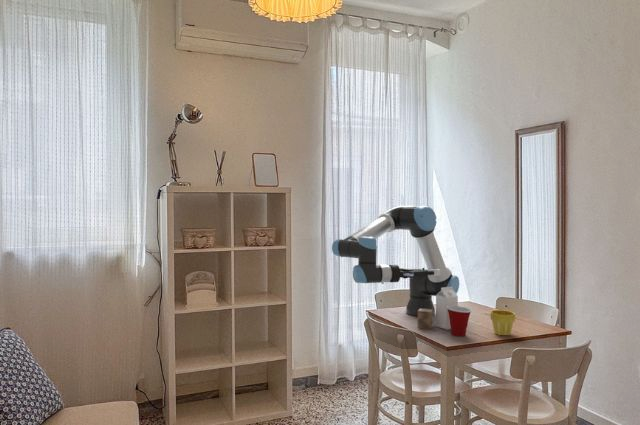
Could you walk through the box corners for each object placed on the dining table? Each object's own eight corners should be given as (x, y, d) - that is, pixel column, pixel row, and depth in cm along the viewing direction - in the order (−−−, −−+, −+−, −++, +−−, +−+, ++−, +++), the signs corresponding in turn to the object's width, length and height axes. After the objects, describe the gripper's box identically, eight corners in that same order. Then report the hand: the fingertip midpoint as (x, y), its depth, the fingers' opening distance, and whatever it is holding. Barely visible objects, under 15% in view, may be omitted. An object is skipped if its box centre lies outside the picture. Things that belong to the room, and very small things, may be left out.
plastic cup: (473, 338, 202) (473, 310, 201) (447, 337, 203) (447, 309, 203) (470, 332, 212) (470, 305, 212) (445, 330, 214) (445, 304, 214)
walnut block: (417, 327, 220) (417, 310, 220) (419, 324, 225) (419, 308, 225) (430, 329, 217) (430, 311, 217) (432, 326, 223) (432, 309, 223)
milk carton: (435, 326, 222) (435, 286, 222) (446, 324, 225) (446, 285, 225) (446, 330, 216) (446, 288, 215) (457, 328, 219) (458, 287, 219)
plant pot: (519, 337, 204) (519, 314, 204) (496, 337, 204) (496, 315, 203) (508, 330, 214) (508, 309, 214) (486, 331, 214) (486, 309, 214)
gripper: (383, 280, 206) (432, 278, 211) (394, 284, 193) (446, 283, 199) (383, 263, 206) (432, 262, 211) (395, 266, 193) (446, 265, 198)
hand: (439, 272), depth 205 cm, fingers closed
